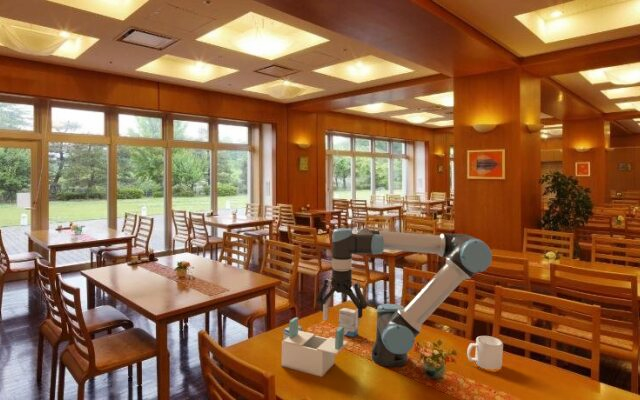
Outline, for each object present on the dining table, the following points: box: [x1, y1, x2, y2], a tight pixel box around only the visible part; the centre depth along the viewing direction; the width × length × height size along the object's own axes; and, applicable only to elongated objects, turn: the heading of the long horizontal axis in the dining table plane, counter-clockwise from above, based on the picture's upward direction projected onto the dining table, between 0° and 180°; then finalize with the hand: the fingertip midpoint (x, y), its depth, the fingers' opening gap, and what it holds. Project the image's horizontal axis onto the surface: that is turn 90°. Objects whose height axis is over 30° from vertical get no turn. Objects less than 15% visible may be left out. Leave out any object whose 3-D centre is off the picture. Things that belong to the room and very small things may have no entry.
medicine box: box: [282, 324, 303, 342], centre depth 177 cm, size 8×4×9 cm, turn 141°
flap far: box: [282, 316, 316, 346], centre depth 162 cm, size 8×12×8 cm
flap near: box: [317, 326, 349, 356], centre depth 155 cm, size 8×12×8 cm
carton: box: [280, 335, 336, 378], centre depth 161 cm, size 18×12×10 cm, turn 65°
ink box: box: [338, 307, 359, 338], centre depth 193 cm, size 9×5×12 cm, turn 58°
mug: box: [466, 335, 504, 370], centre depth 163 cm, size 14×10×11 cm
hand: (341, 322), depth 154 cm, fingers open, 13 cm apart
